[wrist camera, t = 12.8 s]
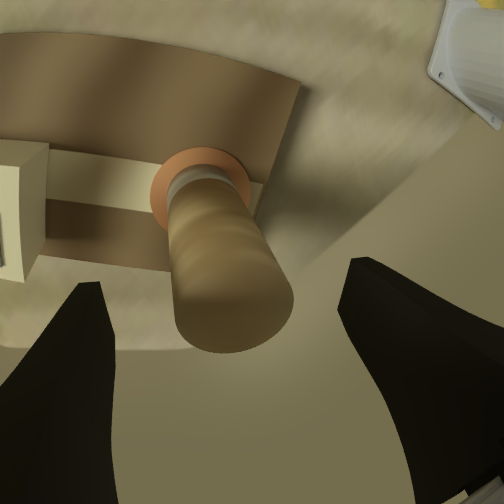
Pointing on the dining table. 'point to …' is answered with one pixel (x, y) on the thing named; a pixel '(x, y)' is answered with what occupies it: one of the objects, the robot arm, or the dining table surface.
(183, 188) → the brown upright cylinder
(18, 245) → the block
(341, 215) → the dining table surface
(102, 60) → the board
